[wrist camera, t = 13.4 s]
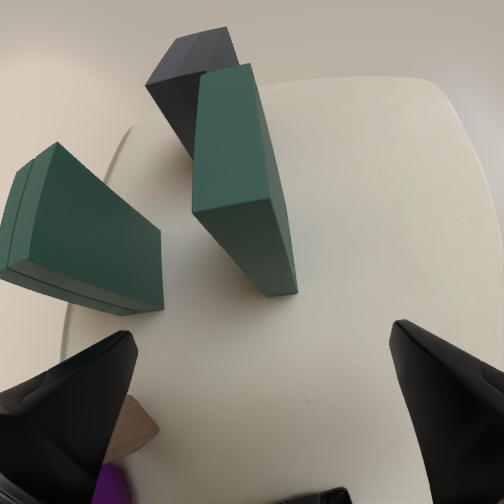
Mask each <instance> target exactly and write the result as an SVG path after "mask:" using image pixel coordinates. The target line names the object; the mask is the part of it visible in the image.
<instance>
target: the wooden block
mask: <svg viewBox="0 0 504 504" xmlns="http://www.w3.org/2000/svg"><path fill="white" fill-rule="evenodd" d="M158 430H159V428H158V426H157V425H156V424H155V423H154V422H153V421H152V420H151V418H150V417H149V416H148V415H147V414H146V413H145V411H144V410H143V409H142V408H141V406H140V405H139V404H138V403H137V402H136V400H135V399H134V398H133V397H132V396H131V395H126V398H125V400H124V403H123V406H122V409H121V411H120V414H119V417H118V420H117V423H116V425H115V428H114V431H113V434H112V437H111V440H110V443H109V446H108V449H107V452H106V455H105V459H104V462H103V465H104V464H107V463H109V462H112V461H114V460H117V459H119V458H122V457H124V456H126V455H129V454H131V453H133V452H136V451H138V450H139V449H140V448H141V447H142V446H143V445H144V444H145V443H147V442H148V441H149V440H150V439H151V438H152V437H153V436H154V435H155V434H157V432H158Z"/></svg>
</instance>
